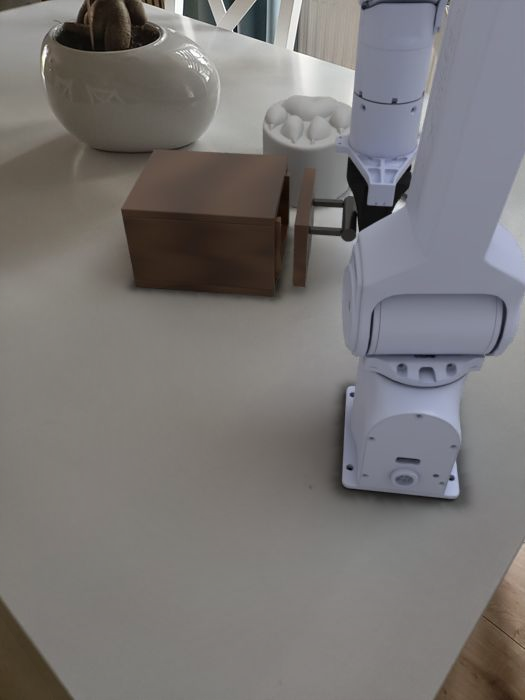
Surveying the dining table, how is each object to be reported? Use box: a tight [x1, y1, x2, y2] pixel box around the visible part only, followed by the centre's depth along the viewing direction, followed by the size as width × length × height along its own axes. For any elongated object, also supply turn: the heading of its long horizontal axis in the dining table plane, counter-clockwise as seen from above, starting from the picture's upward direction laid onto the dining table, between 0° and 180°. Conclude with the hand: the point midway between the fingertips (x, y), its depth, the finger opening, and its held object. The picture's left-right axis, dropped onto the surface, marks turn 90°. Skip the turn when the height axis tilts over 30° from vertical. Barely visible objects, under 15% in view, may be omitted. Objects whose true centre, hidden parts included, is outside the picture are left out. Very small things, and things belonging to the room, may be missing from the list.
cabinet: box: [120, 148, 288, 297], centre depth 61 cm, size 14×12×9 cm
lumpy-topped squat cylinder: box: [262, 94, 352, 208], centre depth 72 cm, size 10×13×9 cm
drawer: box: [275, 168, 358, 288], centre depth 60 cm, size 17×10×7 cm, turn 82°
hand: (370, 233), depth 60 cm, fingers closed, pressing on drawer
